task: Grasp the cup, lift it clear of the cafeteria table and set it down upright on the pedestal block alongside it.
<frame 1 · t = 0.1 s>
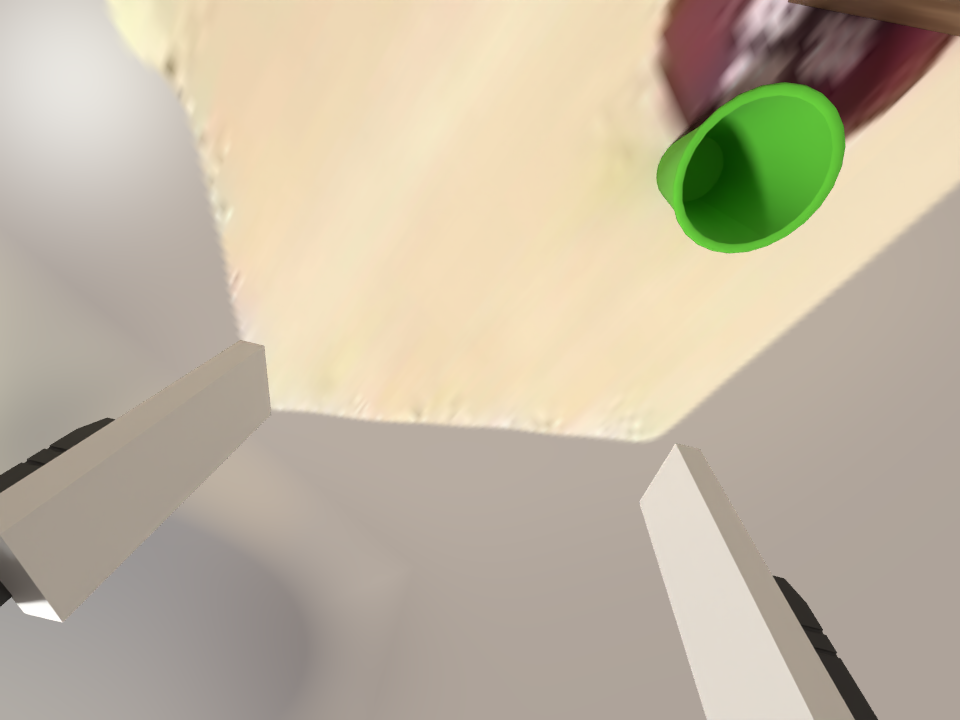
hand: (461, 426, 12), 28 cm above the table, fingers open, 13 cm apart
cup: (687, 169, 32), on the table
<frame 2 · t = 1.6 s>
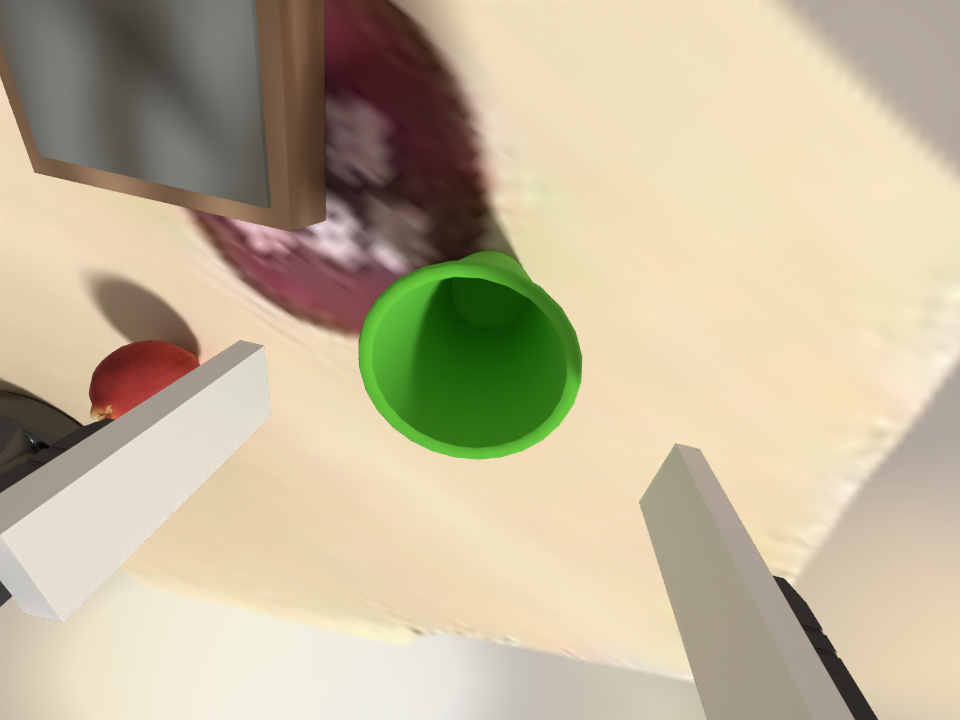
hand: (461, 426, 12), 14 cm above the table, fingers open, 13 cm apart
cup: (489, 288, 25), on the table
onion: (194, 356, 30), on the table
pedestal: (197, 55, 20), on the table
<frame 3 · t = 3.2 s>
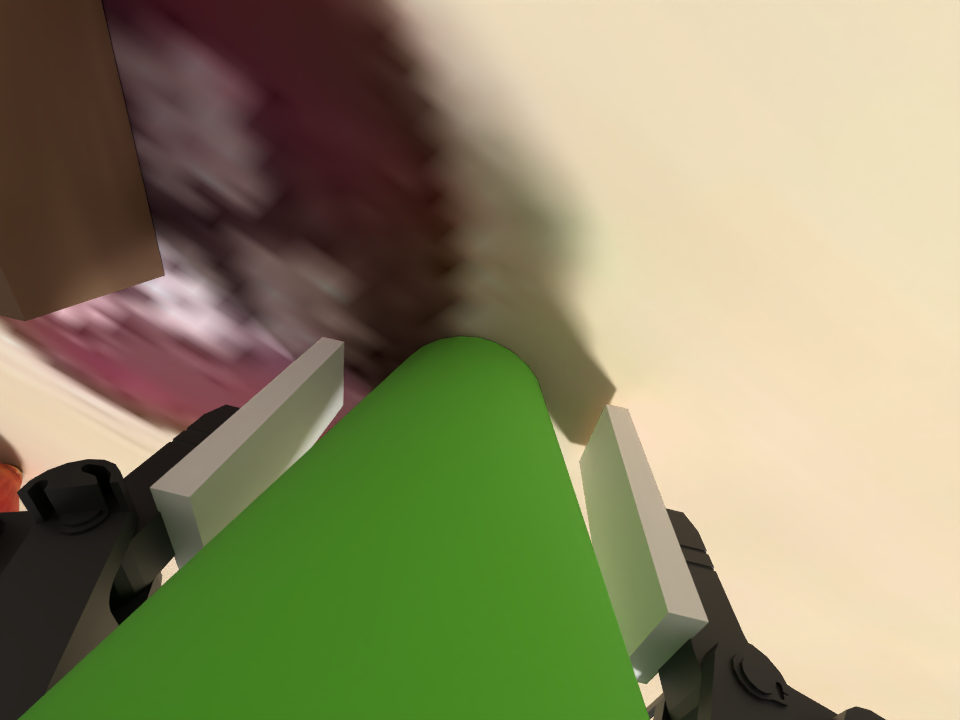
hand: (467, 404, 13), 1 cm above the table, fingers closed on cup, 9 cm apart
cup: (470, 393, 14), on the table, touching gripper
onion: (18, 466, 19), on the table
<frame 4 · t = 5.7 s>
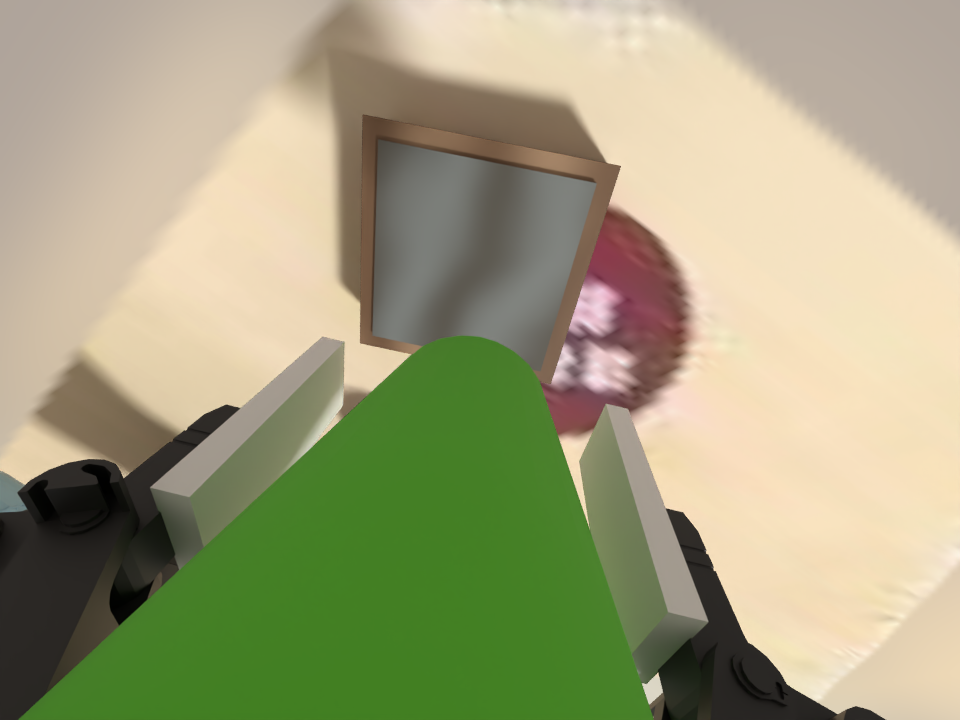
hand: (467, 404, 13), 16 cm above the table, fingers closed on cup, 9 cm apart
cup: (471, 392, 14), point 16 cm above the table, touching gripper
pedestal: (478, 253, 27), on the table
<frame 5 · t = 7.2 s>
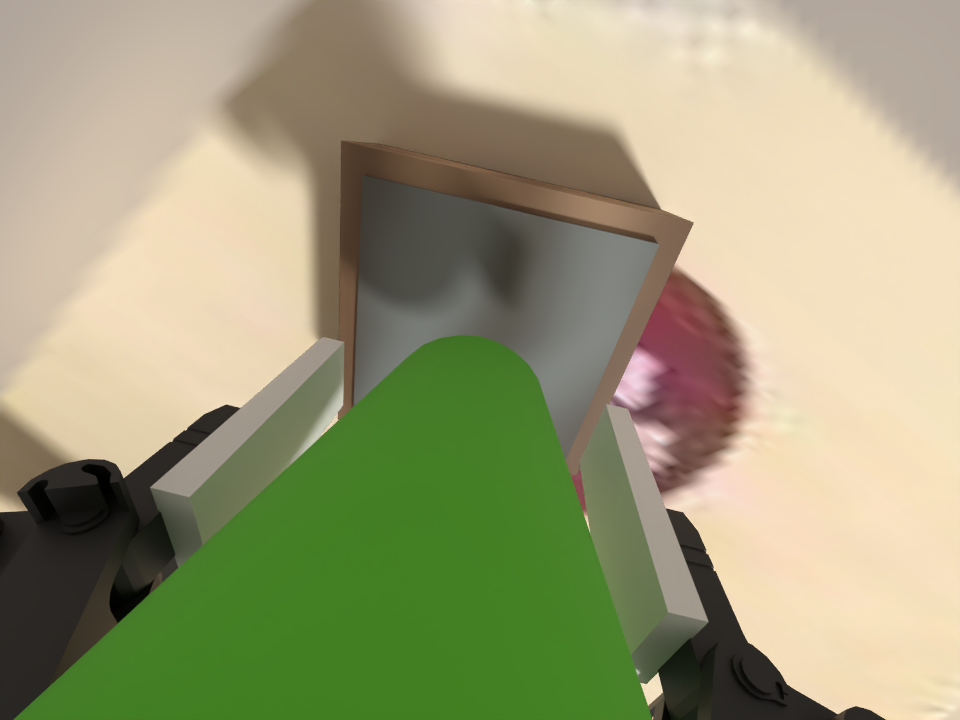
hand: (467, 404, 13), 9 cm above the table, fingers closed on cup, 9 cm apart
cup: (470, 392, 14), point 9 cm above the table, touching gripper
pedestal: (489, 309, 21), on the table
when the fingers open (6 cm above the table, at t = 8.3 s): cup drops 1 cm, resting on pedestal.
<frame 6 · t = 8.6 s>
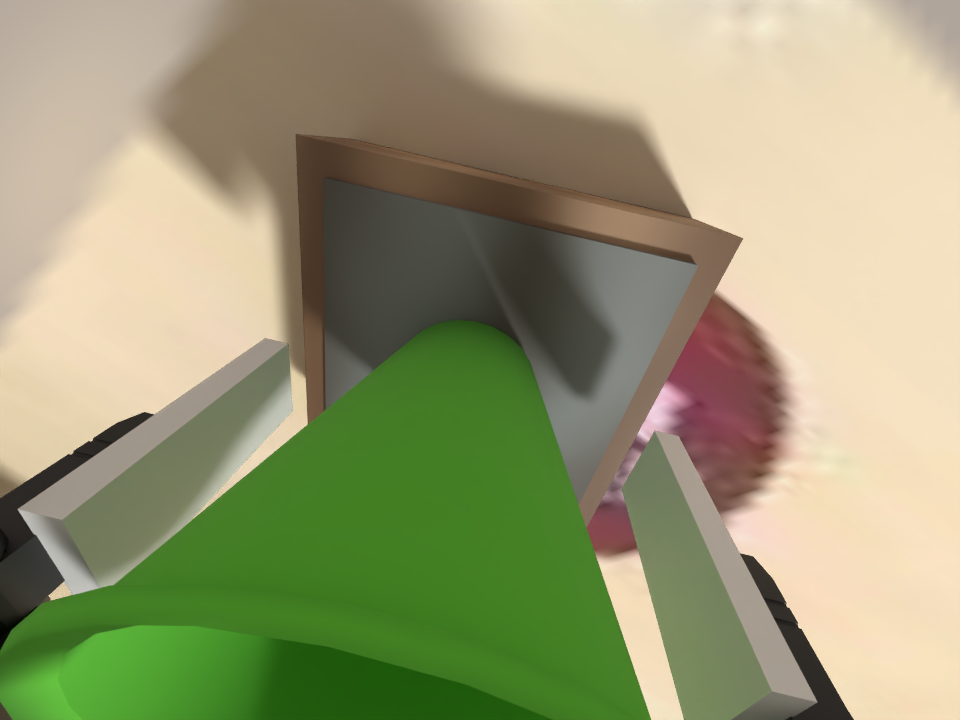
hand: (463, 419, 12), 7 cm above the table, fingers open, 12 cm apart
cup: (467, 375, 15), point 4 cm above the table, touching pedestal
pedestal: (485, 333, 18), on the table
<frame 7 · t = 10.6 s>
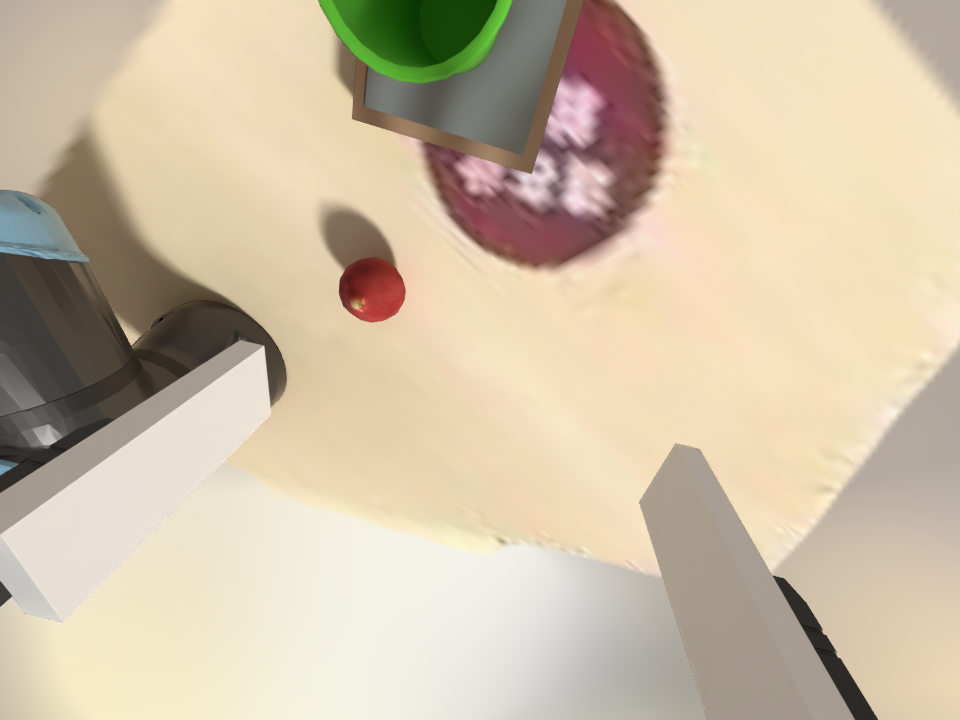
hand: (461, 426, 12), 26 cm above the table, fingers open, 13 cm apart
cup: (459, 25, 24), point 4 cm above the table, touching pedestal
onion: (387, 278, 38), on the table
pedestal: (472, 43, 28), on the table
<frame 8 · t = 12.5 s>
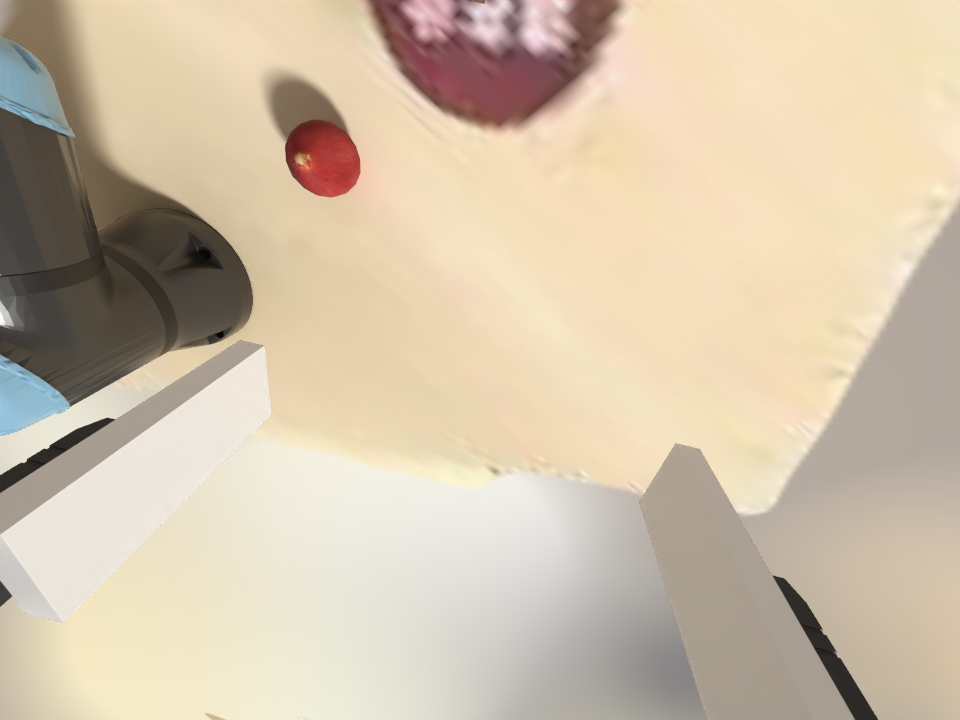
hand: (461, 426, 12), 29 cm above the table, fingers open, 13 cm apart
onion: (344, 159, 35), on the table
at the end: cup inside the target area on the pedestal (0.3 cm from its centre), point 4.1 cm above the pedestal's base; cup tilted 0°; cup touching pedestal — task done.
